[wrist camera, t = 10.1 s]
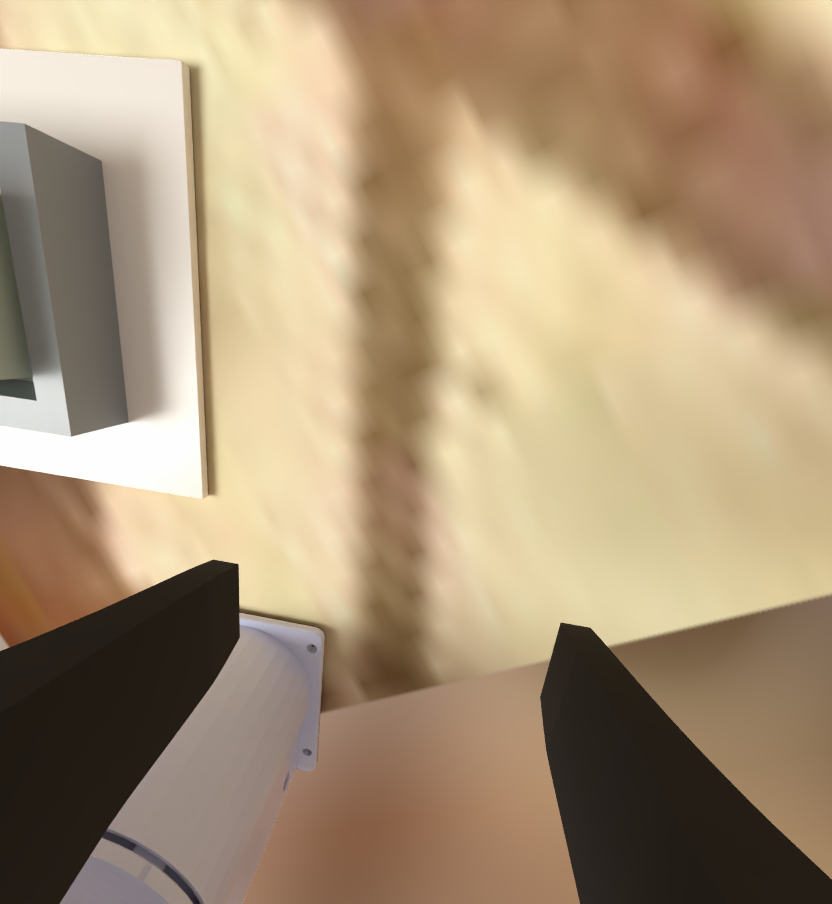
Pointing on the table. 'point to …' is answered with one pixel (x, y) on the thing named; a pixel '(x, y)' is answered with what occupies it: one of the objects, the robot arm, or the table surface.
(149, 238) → the slot holder
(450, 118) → the table surface
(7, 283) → the key block
